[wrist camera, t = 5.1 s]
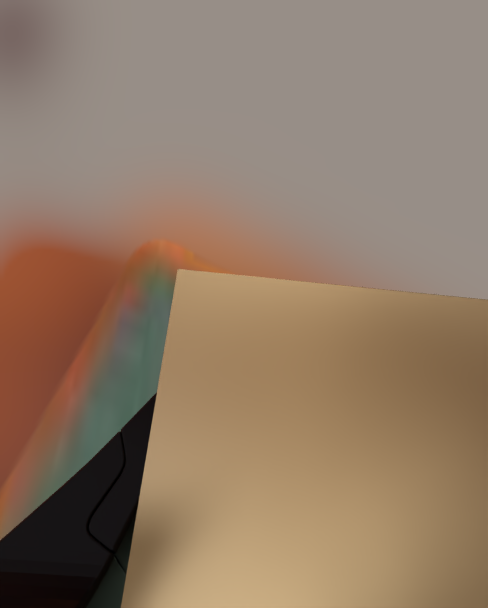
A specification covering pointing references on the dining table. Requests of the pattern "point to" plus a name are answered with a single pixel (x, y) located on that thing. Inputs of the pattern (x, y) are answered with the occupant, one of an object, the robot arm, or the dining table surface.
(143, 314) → the dining table surface
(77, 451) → the dining table surface
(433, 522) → the oak block
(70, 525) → the robot arm
